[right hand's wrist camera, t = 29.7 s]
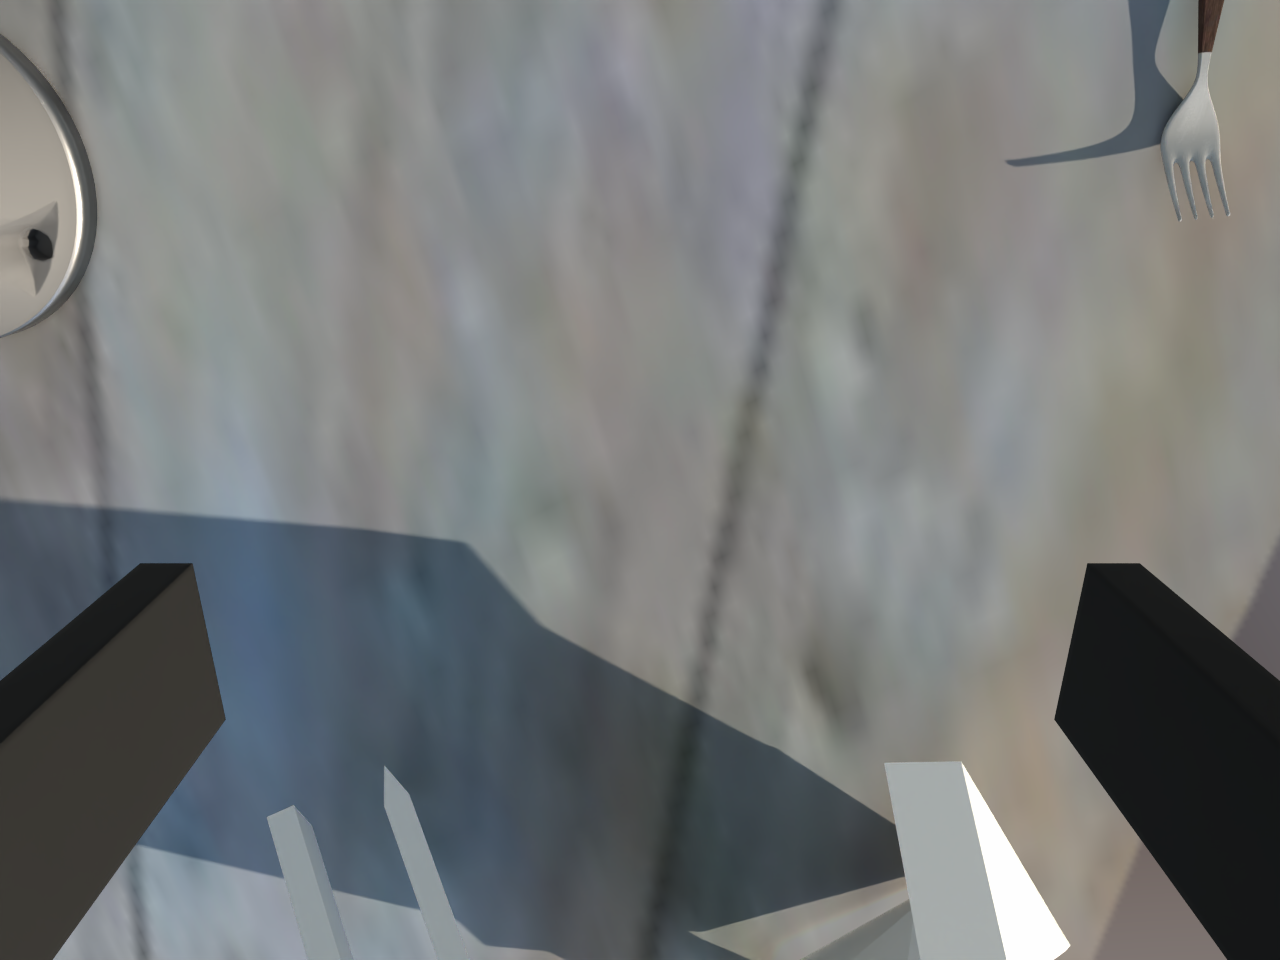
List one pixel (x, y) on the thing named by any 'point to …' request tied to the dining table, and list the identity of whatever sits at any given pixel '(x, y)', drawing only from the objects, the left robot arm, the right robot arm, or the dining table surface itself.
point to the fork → (1196, 121)
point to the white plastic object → (868, 956)
